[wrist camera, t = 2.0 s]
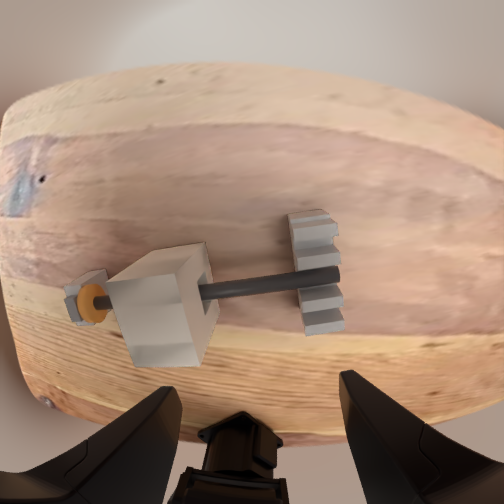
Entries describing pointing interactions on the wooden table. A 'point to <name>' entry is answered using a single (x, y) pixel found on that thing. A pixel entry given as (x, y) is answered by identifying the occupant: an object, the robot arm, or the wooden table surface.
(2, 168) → the wooden table surface
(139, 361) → the sleeve
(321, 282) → the cord rig
